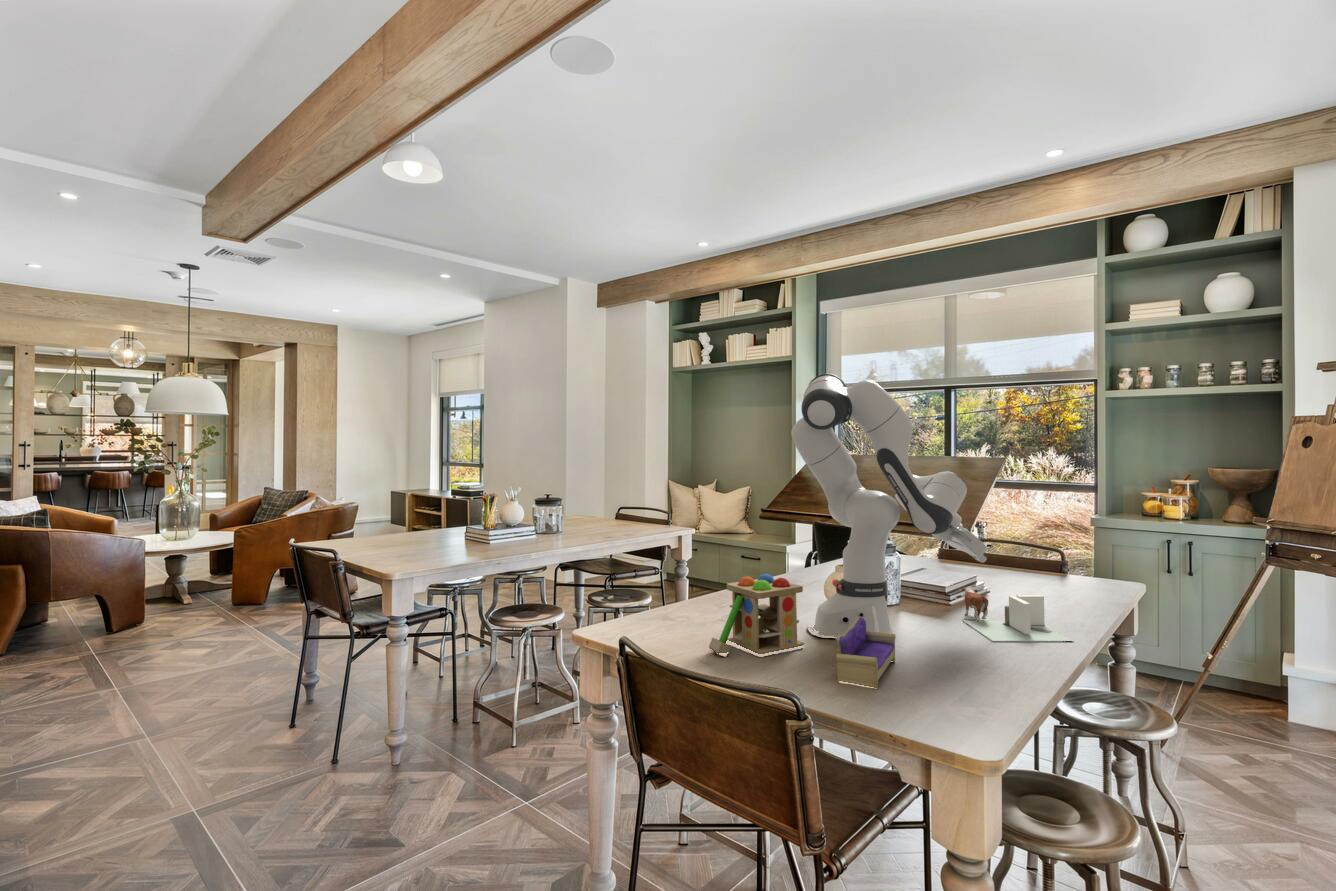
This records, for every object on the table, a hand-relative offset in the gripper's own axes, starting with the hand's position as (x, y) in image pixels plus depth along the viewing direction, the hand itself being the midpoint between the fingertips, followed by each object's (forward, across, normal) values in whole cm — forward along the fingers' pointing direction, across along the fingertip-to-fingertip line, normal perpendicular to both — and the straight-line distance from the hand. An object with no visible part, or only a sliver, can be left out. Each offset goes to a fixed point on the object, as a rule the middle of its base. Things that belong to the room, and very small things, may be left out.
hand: (982, 560), depth 178 cm
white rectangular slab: (+20, 0, +7) cm, 21 cm away
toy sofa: (-13, -33, +41) cm, 54 cm away
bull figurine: (+16, +15, +12) cm, 25 cm away
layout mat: (+20, 0, +8) cm, 21 cm away
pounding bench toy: (-31, -16, +59) cm, 68 cm away
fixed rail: (+23, +6, +4) cm, 24 cm away
